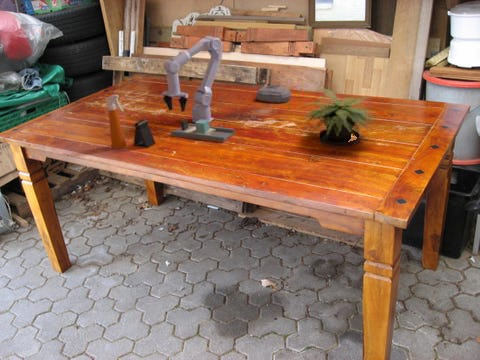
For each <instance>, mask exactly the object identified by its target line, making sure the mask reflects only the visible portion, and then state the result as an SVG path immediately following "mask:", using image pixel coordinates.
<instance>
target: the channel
mask: <svg viewBox="0 0 480 360" xmlns="http://www.w3.org/2000/svg"><path fill="white" fill-rule="evenodd" d="M188 126H195V123H188ZM209 126H210V125H209ZM195 127H196V126H195ZM210 128H212V129H216V131H215V132H214V133H213V134H211V135H206V134H198V133H190V132H182V131H180V130H181V129H182V128H181V127H179V128H178V129H176V130H172V129H171V130H170V136H173V137H179V138H180V137H182V138H189V139H196V140H203V141H211V142H217V143H218V142H219V143H225V142H226V141H227V140H228V139H230V138H231V137H232V136H233V135H235V128H232V127H231V128H230V127H220V126H212V125H211V126H210Z"/></svg>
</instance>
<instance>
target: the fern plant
mask: <svg viewBox="0 0 480 360" xmlns="http://www.w3.org/2000/svg"><path fill="white" fill-rule="evenodd" d="M317 87H318V88H320V90H321V91H322V93H324V96H318V97H317V99H325V100H326V101H327V100H328V101H330V103H326V102H321V101H317V102H315V101H314V102H309V103H305V106H306V105H317V106H316V108H314V109H313V110H310V111H309V112H306V113H304V114H303V115H305V116H303V117H301V118H303V119H302V120H304V119H306V118H308V117H309V119H307V120H306V121H305V122H304V124H306V123H309V122H310V121H314V120H315V121H316V120H317V119H318V121H317V123H315V127H314V128H313V130H312V132H313V131H315V130H316V129H317V128H320V127H321V126H323V128H322V130H321V131H320V132H319V133H318V139H319V142H321V143H322V144H324V145H327V146H331V147H349V146H348V145H350V146H352V144H353V145H355V144H354V143H356V142H357V141H358V142H359V141H360V136H362V134H363V133H361V130H360V128H361V129H363V130H365V128H364V127H366V128H367V129H369V130H370V131H372V132H374V130H373V129H372V127H371V126H370V125H369V124H368V123H371V124H375V125H376V126H378V124H377V123H376V122H375V121H379V119H378V118H377V117H376V116H374V115H372V114H371V113H373V114H379V115H380V113H378V112H377V111H373V110H371V109H367V108H366V109H364V108H362V107H356V104H361V103H362V102H365V100H366V99H369V98H370V96H361V97H357V98H355V97H353V96H351V97H345V98H344V97H343V98H342V100H341V101H340V97H338V95H336V93H335V92H334V91H331V90H330V89H327V88H324V87H323V86H322V87H320V86H317ZM327 97H328V98H327ZM367 122H368V123H367ZM351 134H353V136H354V135H355V136H356V137H357V139H356V140H353V141H350V142H348V141H349V140H350V139H351ZM358 142H357V143H358ZM357 143H356V144H357Z"/></svg>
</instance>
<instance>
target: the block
mask: <svg viewBox="0 0 480 360" xmlns="http://www.w3.org/2000/svg"><path fill="white" fill-rule="evenodd" d="M194 124H195V126H196V132H198V133H206V132H207V131H209V130H210V122H209V120H201V119H200V120H199V121H197V122H194Z"/></svg>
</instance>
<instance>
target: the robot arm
mask: <svg viewBox="0 0 480 360" xmlns="http://www.w3.org/2000/svg"><path fill="white" fill-rule="evenodd" d="M223 46H224V44H223V43H222V40H221V39H220V38H218V37H213V36H210V35H206V36H205V37H204V38H201V39H200V40H199V41H198V42H197V43H196V44H194V45H193V46H192V47H191V48H189V49H188V50H186V51H184V50H183V51H179V52H178V54H177V55H175V56H174V57H171V58H170V59H166V60H165V62H164V64H163V67H162V68H163V69H164V71H165V72H166V81H167V82H166V83H167V87H168V91H163V92H161V96H162V100H163V101H164V102H165V104H166V106H167V108H168V111H172V110H173V98H178V101H179V105H180V111H181V112H185V111H186V104H187V101H188V99H189V93H187V92H183V91H181V87H180V86H181V85H180V78H179V70H180V68H182V67H183V66H184V65H186V64H187V63H189V62H190V61H191V58H192V57H193V56H196V55H197V54H199V53H200V52H201V51H205V50H206V51H208V54H209V56H210V59H209V61H208V64H207V68H206V70H205V72H204V76H203V78H202V82H201V85H200V86H198V87H197V89H196V91H194V93H193V96H192V99H193V101H194V102H195V103H194V104H193V105H192V107H191V114H192V115H191V116H192V123H196V122H197V121H199V120H200V119H201V120H209V123H210V122H212V121H213V120H214V119H215V118H214V117H212V115H211V103H212V96H213V92H212V86H213V83H214V81H215V78H216V76H217V72H218V70H219V67H220V64H221V61H222V58H223Z"/></svg>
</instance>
